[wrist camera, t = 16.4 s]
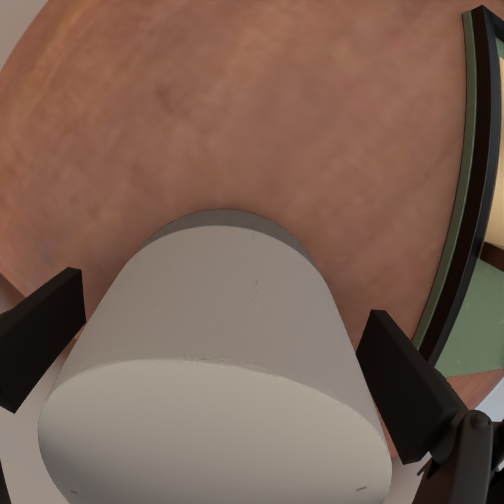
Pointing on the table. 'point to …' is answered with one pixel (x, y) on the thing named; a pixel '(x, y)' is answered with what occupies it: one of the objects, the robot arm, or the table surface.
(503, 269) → the carriage
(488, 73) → the rail base
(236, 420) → the smart speaker
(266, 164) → the table surface
